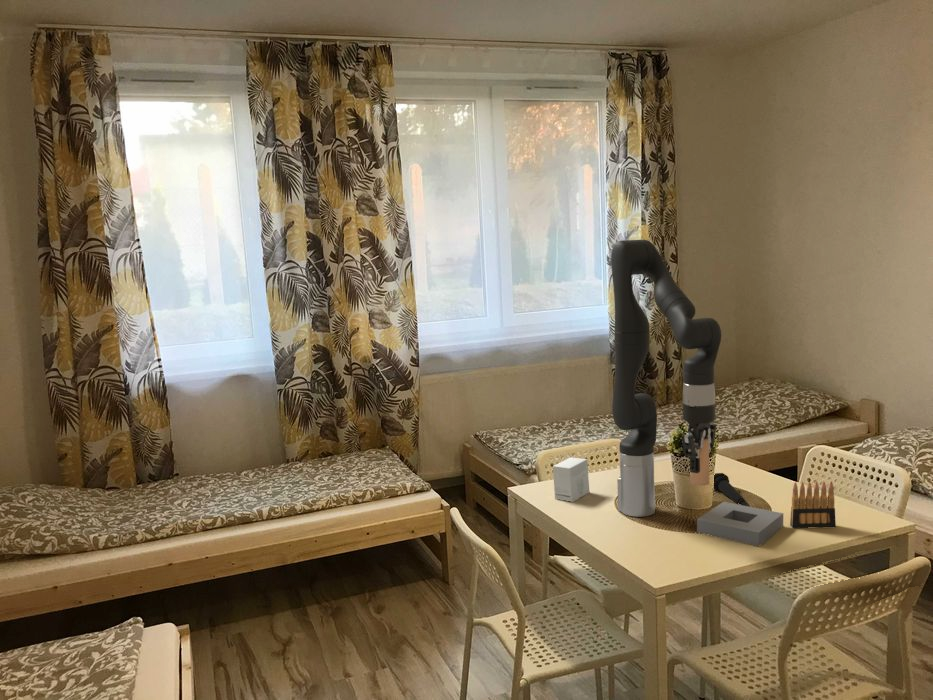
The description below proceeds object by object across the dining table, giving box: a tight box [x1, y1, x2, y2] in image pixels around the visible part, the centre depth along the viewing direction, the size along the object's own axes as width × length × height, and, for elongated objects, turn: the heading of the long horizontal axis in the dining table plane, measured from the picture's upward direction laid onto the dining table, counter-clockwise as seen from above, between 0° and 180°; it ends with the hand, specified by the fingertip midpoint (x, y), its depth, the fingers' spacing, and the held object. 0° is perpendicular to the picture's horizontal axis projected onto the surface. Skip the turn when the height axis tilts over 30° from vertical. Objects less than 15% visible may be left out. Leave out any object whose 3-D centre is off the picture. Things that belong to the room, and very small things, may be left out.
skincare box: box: [552, 456, 590, 503], centre depth 230 cm, size 10×6×10 cm, turn 142°
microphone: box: [713, 472, 749, 507], centre depth 221 cm, size 6×6×20 cm
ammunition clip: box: [789, 480, 837, 529], centre depth 196 cm, size 11×2×12 cm, turn 85°
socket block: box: [696, 501, 784, 547], centre depth 197 cm, size 16×16×4 cm
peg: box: [689, 439, 710, 487], centre depth 187 cm, size 4×4×11 cm
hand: (699, 469), depth 187 cm, fingers closed on peg, 4 cm apart
